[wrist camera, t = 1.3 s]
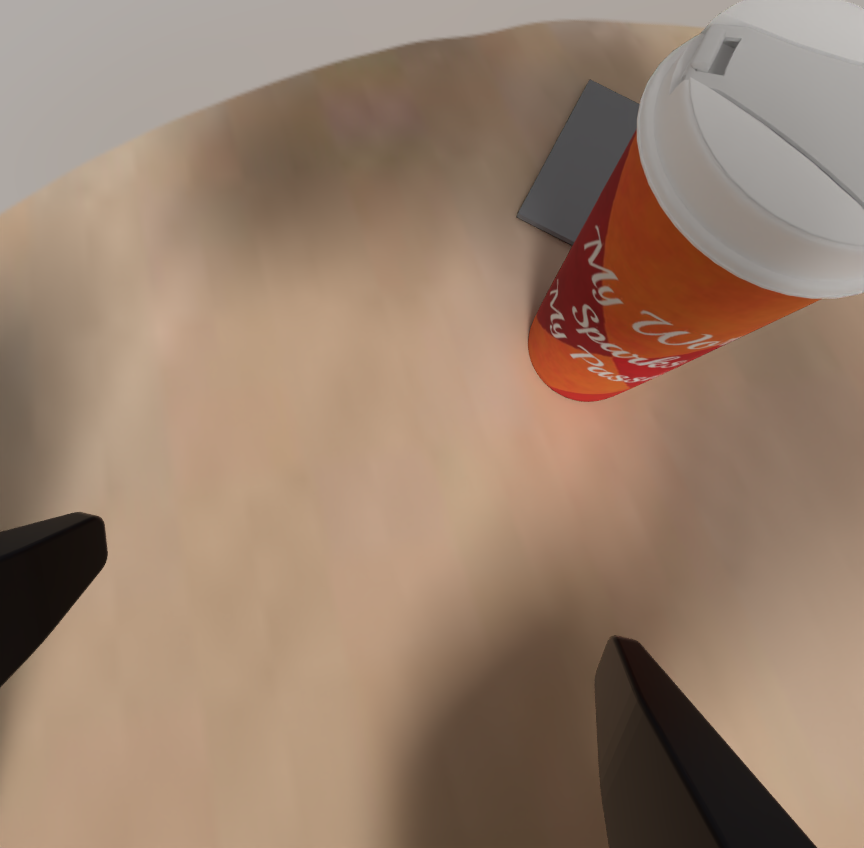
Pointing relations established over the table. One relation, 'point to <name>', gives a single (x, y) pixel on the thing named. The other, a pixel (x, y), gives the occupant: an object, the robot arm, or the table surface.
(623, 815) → the robot arm
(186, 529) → the table surface
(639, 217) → the paper cup
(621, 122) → the mat
